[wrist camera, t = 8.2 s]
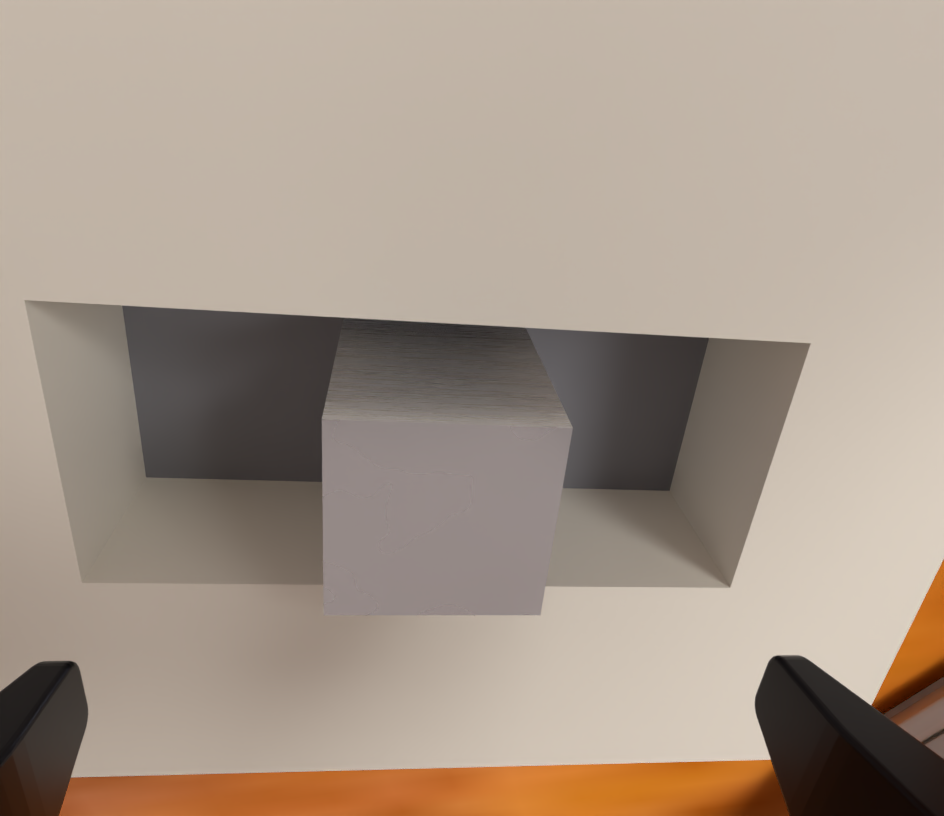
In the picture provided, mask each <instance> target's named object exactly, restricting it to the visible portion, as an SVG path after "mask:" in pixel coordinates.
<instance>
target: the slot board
mask: <svg viewBox="0 0 944 816" xmlns="http://www.w3.org/2000/svg"><path fill="white" fill-rule="evenodd" d="M344 318H359V319H377V320H395V321H413V322H432V323H450V324H468V325H486V326H504V327H523V328H526V329H527V332H528V334H529V336H530V338H531V340H532V342H533V344H534V346H535V349H536V351H537V353H538V355H539V357H540V359H541V361H542V363H543V366H544V368H545V370H546V372H547V374H548V376H549V378H550V380H551V382H552V385H553V387H554V389H555V391H556V393H557V395H558V397H559V399H560V402H561V404H562V406H563V408H564V410H565V412H566V414H567V416H568V419H569V421H570V423H571V425H572V427H573V430H572V436H571V442H570V447H569V453H568V459H567V465H566V471H565V476H564V482H563V488H562V494H561V499H560V505H559V511H558V517H557V523H556V528H555V534H554V540H553V546H552V551H551V557H550V563H549V569H548V575H547V580H546V586H545V592H544V598H543V603H542V609H541V615H324V601H323V501H322V416H323V411H324V406H325V402H326V397H327V393H328V388H329V383H330V379H331V374H332V370H333V365H334V360H335V356H336V351H337V347H338V342H339V337H340V333H341V328H342V323H343V319H344ZM943 559H944V0H0V691H1V690H3V689H4V688H5V687H6V686H8V685H9V684H10V683H11V682H13V681H14V680H15V679H17V678H18V677H19V676H20V675H22V674H23V673H24V672H25V671H27V670H28V669H29V668H31V667H32V666H33V665H35V664H37V663H39V662H42V661H73V662H75V663H77V665H78V666H79V669H80V672H81V677H82V681H83V686H84V690H85V695H86V699H87V704H88V721H87V726H86V730H85V733H84V736H83V740H82V743H81V746H80V749H79V752H78V756H77V759H76V762H75V765H74V768H73V772H72V775H71V777H106V776H145V775H185V774H224V773H264V772H303V771H342V770H382V769H421V768H460V767H500V766H539V765H579V764H618V763H657V762H697V761H736V760H771V759H770V756H769V753H768V750H767V747H766V744H765V740H764V737H763V734H762V731H761V728H760V725H759V722H758V719H757V716H756V712H755V696H756V693H757V690H758V687H759V685H760V682H761V680H762V677H763V674H764V672H765V669H766V667H767V664H768V662H769V660H770V659H771V658H772V657H773V656H776V655H800V656H803V657H805V658H807V659H808V660H810V661H811V662H813V663H814V664H815V665H817V666H818V667H820V668H821V669H822V670H824V671H825V672H826V673H828V674H829V675H830V676H832V677H833V678H834V679H836V680H837V681H839V682H840V683H841V684H843V685H844V686H845V687H847V688H848V689H849V690H851V691H852V692H854V693H855V694H856V695H858V696H859V697H860V698H862V699H863V700H864V701H866V702H867V703H868V704H870V705H872V703H873V701H874V699H875V697H876V695H877V693H878V691H879V689H880V687H881V685H882V683H883V681H884V679H885V677H886V675H887V673H888V671H889V669H890V667H891V664H892V662H893V660H894V658H895V656H896V654H897V652H898V650H899V648H900V646H901V644H902V642H903V640H904V638H905V636H906V634H907V632H908V630H909V628H910V626H911V624H912V622H913V620H914V618H915V616H916V614H917V612H918V610H919V608H920V606H921V604H922V602H923V600H924V598H925V596H926V594H927V592H928V590H929V587H930V585H931V583H932V581H933V579H934V577H935V575H936V573H937V571H938V569H939V567H940V565H941V563H942V561H943Z"/></svg>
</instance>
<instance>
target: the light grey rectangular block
mask: <svg viewBox="0 0 944 816" xmlns="http://www.w3.org/2000/svg"><path fill="white" fill-rule="evenodd" d="M572 430H573V427H572V425H571V423H570V421H569V419H568V416H567V414H566V412H565V410H564V408H563V406H562V404H561V402H560V399H559V397H558V395H557V393H556V391H555V389H554V387H553V385H552V382H551V380H550V378H549V376H548V374H547V372H546V370H545V368H544V366H543V363H542V361H541V359H540V357H539V355H538V353H537V351H536V349H535V346H534V344H533V342H532V340H531V338H530V336H529V334H528V332H527V329H526V328H523V327H504V326H486V325H468V324H450V323H432V322H413V321H395V320H377V319H359V318H344V319H343V323H342V328H341V333H340V337H339V342H338V347H337V351H336V356H335V360H334V365H333V370H332V374H331V379H330V383H329V388H328V393H327V397H326V402H325V406H324V411H323V416H322V501H323V601H324V615H541V609H542V603H543V598H544V592H545V586H546V580H547V575H548V569H549V563H550V557H551V551H552V546H553V540H554V534H555V528H556V523H557V517H558V511H559V505H560V499H561V494H562V488H563V482H564V476H565V471H566V465H567V459H568V453H569V447H570V442H571V436H572Z"/></svg>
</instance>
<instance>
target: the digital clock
mask: <svg viewBox="0 0 944 816" xmlns="http://www.w3.org/2000/svg"><path fill="white" fill-rule="evenodd" d="M883 715H885V716H886V717H888V718H889V719H890V720H892V721H893V722H894V723H896V724H897V725H898V726H900V727H901V728H902V729H904V730H905V731H907V732H908V733H909V734H911V735H912V736H913V737H915V738H916V739H917V740H919V741H920V742H922V743H923V744H924V745H926V746H927V747H928V748H930V749H931V750H932V751H934V752H935V753H937V754H938V755H939V756H941V757H942V758H943V759H944V677H942V678H941V679H939V680H937V681H936V682H934V683H933V684H931V685H929V686H928V687H926V688H925V689H923V690H921V691H920V692H918V693H917V694H915V695H913V696H912V697H910V698H909V699H907V700H905V701H904V702H902V703H901V704H899V705H897V706H896V707H894V708H893V709H891V710H889V711H888V712H886V713H885V714H883Z"/></svg>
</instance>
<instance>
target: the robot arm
mask: <svg viewBox="0 0 944 816" xmlns="http://www.w3.org/2000/svg"><path fill="white" fill-rule="evenodd" d="M755 712H756V716H757V719H758V722H759V725H760V728H761V731H762V734H763V737H764V740H765V744H766V747H767V750H768V753H769V756H770V759H771V762H772V765H773V768H774V771H775V774H776V777H777V780H778V783H779V786H780V789H781V792H782V795H783V798H784V801H785V804H786V807H787V810H788V812H789V815H790V816H944V759H943V758H942V757H941V756H939V755H938V754H937V753H935V752H934V751H932V750H931V749H930V748H928V747H927V746H926V745H924V744H923V743H922V742H920V741H919V740H917V739H916V738H915V737H913V736H912V735H911V734H909V733H908V732H907V731H905V730H904V729H902V728H901V727H900V726H898V725H897V724H896V723H894V722H893V721H892V720H890V719H889V718H888V717H886V716H885V715H883V714H882V713H881V712H879V711H878V710H877V709H875V708H874V707H873V706H871V705H870V704H868V703H867V702H866V701H864V700H863V699H862V698H860V697H859V696H858V695H856V694H855V693H854V692H852V691H851V690H849V689H848V688H847V687H845V686H844V685H843V684H841V683H840V682H839V681H837V680H836V679H834V678H833V677H832V676H830V675H829V674H828V673H826V672H825V671H824V670H822V669H821V668H820V667H818V666H817V665H815V664H814V663H813V662H811V661H810V660H808V659H807V658H805V657H803V656H800V655H776V656H773V657H772V658H771V659H770V660H769V662H768V664H767V667H766V669H765V672H764V674H763V677H762V680H761V682H760V685H759V687H758V690H757V693H756V696H755ZM87 721H88V704H87V699H86V695H85V690H84V686H83V681H82V677H81V672H80V669H79V666H78V665H77V663H75V662H73V661H42V662H39V663H37V664H35V665H33V666H32V667H31V668H29V669H28V670H27V671H25V672H24V673H23V674H22V675H20V676H19V677H18V678H17V679H15V680H14V681H13V682H11V683H10V684H9V685H8V686H6V687H5V688H4V689H3V690H1V691H0V816H59V813H60V810H61V807H62V804H63V800H64V797H65V794H66V791H67V788H68V784H69V781H70V778H71V775H72V772H73V768H74V765H75V762H76V759H77V756H78V752H79V749H80V746H81V743H82V740H83V736H84V733H85V730H86V726H87Z"/></svg>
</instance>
